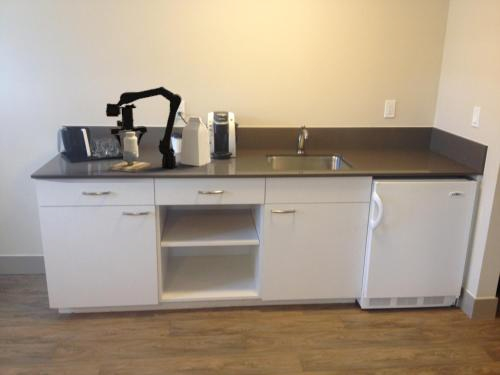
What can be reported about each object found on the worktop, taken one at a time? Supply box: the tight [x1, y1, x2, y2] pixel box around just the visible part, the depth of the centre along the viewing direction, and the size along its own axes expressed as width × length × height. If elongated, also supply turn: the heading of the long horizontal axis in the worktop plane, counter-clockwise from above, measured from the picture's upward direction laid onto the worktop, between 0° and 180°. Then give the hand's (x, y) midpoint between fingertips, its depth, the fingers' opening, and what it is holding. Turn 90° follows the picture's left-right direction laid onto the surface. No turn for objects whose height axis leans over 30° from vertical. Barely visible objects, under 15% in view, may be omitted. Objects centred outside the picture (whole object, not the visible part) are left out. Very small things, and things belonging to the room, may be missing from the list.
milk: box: [181, 115, 211, 167], centre depth 253 cm, size 12×12×26 cm
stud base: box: [109, 160, 152, 173], centre depth 243 cm, size 16×15×4 cm
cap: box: [122, 150, 138, 162], centre depth 242 cm, size 7×7×5 cm
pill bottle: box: [123, 131, 139, 158], centre depth 266 cm, size 8×8×15 cm
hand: (129, 146), depth 241 cm, fingers open, 9 cm apart
